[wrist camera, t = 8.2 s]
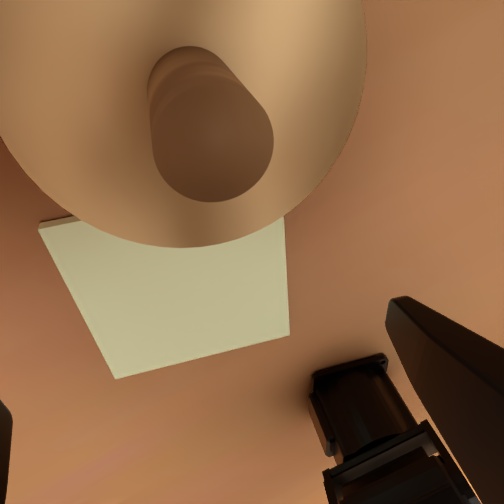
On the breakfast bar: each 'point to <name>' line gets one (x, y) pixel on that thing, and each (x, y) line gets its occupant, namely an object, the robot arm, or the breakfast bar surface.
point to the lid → (179, 108)
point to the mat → (172, 293)
